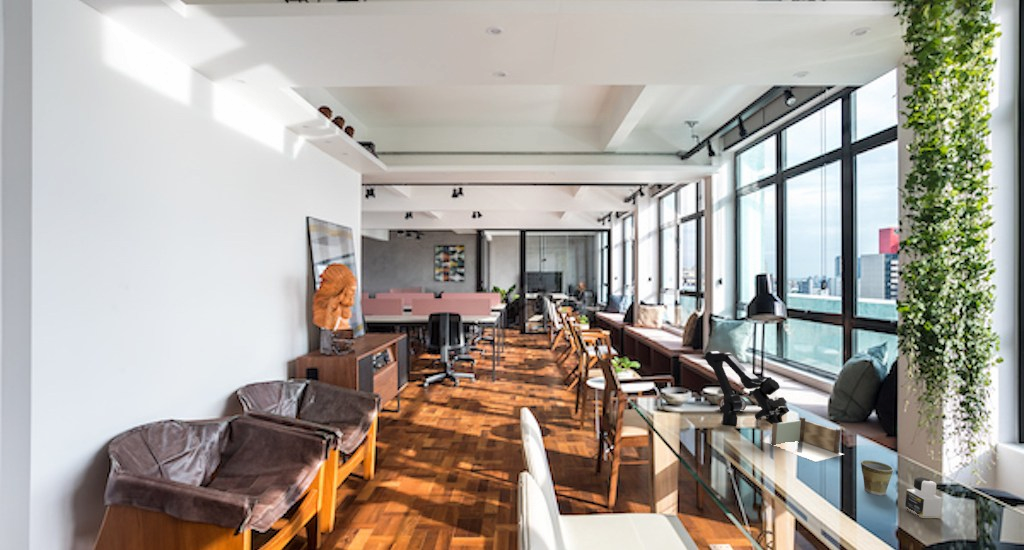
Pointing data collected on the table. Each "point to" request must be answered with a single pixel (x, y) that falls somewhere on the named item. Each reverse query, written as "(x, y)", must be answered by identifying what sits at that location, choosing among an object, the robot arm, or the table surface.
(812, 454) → the card
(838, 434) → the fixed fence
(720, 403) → the tin
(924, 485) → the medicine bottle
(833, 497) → the table surface
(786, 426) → the folding panel
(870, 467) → the ceramic cup
